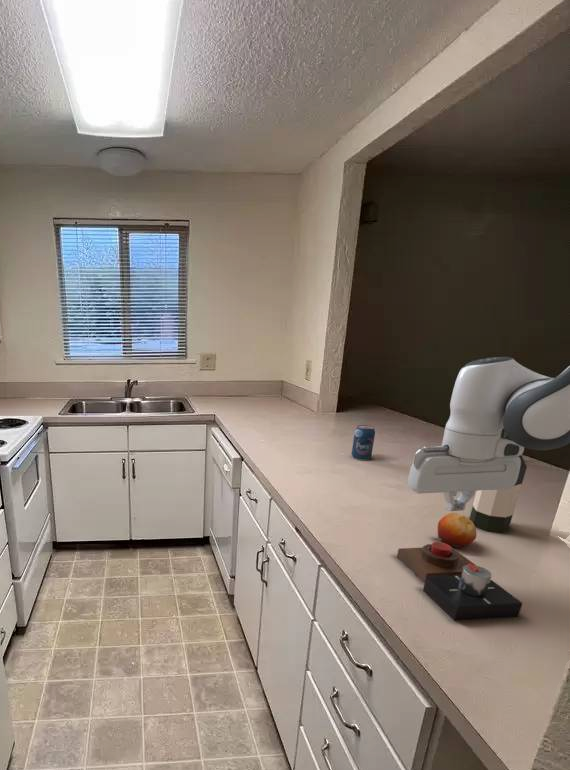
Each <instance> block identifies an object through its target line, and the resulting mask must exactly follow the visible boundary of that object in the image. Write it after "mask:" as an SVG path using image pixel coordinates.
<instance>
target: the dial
mask: <svg viewBox="0 0 570 770" xmlns="http://www.w3.org/2000/svg"><path fill="white" fill-rule="evenodd" d="M492 576H493V574H492V572H491V571H490V570H488V569H487V568H485V567H482V566H480V565H476V564H475V565H473V564H471V563H468V565H465V566H463V568H462V572H461V576H460V580H459V584H458V587H459V589H460V590H462V591H463V592H465V593H467V594H469V595H473V596H485V595H486V593H487V590H488V586H489V583H490V580H492Z"/></svg>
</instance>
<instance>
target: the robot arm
mask: <svg viewBox="0 0 570 770" xmlns="http://www.w3.org/2000/svg"><path fill="white" fill-rule="evenodd" d="M457 374H458V375H457V377H456V379H455V381H454V382H455V383H454V386H453V389H452V394H451V397H450V402H449V410H450V415H449V418H448V420H447V422H446V423H445V426H444V431H443V438H442V441H441V445H433V446H432V445H426V446H423V447H422V448H420V449H418V450H417V451H416V452H415V453H414V456H413V461H412V464H411V467H410V470H409V473H408V477H407V481H406V483H407V486H408V487H409V489H410V490H412V491H413V492H415V493H417V494H436V493H442V495H443V497H444V500H445V506H444V507H445V510H446V511H448V512H461V511H465V510H466V505H467V504H468V502H469V501H471V499H472V498H473V497H475V494H476V491H479V490H500V489H510V488H512V487H513V486H514V485H515V484H516V482H517V478H518V475H519V471H520V466H521V460H520V458H519V457H518V456H520V455H522V456H523V454H524V451H525V449H527V450H533V451H549V450H550V451H551V450H556V449H559V448H562V447H565V446H567V445H570V365H569V366H567V368H565V369H564V370H563V371H562V372H561V373H559V375H557V376H555V377H550V376H548V375H547V376H546V375H543V374H540V373H538V372H536V371H533V370H532V369H529V368H528V367H525V366H523V365H522V364H520V363H519V362H517V361H516V360H515V359H514V358H513V357H509V356H493V357H492V356H491V357H485V358H480V359H474V360H472V361H470V362H468V363H466V364H465V365H464V366H462V367H461V369H460V370H459V372H458V373H457ZM503 430H504V433H505V432H506V434H507V436H508V437H509V438H510V439H511V440H512V441H511V440H507V439H505V438H503V437H504V436H502V431H503ZM458 492H460V493H461V494H460V495H459V496H458V498H457V499H455V497H457V493H458Z"/></svg>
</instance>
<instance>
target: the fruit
mask: <svg viewBox="0 0 570 770" xmlns="http://www.w3.org/2000/svg"><path fill="white" fill-rule="evenodd" d="M476 539H477V527H475V525H474V524H473V522H472V521H471V520H470V519H469V518H468V517H467V516H465V515H462V514H459V513H458V512H450V513H448V514H445V515H444V516H443V517H441V518H440V520H438V523H437V537H435V538H434V540H441V541H443V543H446V544H448V545H450V546H453V547H455V548H463V547H466V546H468V545H470V544H472V543H473V542H474V541H475V540H476Z"/></svg>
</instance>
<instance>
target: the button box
mask: <svg viewBox="0 0 570 770" xmlns="http://www.w3.org/2000/svg"><path fill="white" fill-rule="evenodd" d="M431 547H432V543H428V544H425V545H423V546H422V547H404V548H402V547H401V548H397V553H396V554H397V555H396V558H397V559H398V560H399V561H400V562H401V563H402V564H404V565H405V566H406V568H408V569H409V570H410V571H411V572H412V573H413V574H414V575H415V576H416V577H418V578H419V579H420V580H421V581H422V582H423V583H424V584H425V579H426V578H430V577H450V576H461V572H462V568H463V566H465V565H468V563H471V564H473V565H476V563H473V562H472V561H471V560H470V559H468V558H467V557H465V556H464V555H463V554H461V552H458V550H456V549H455V548H454V547H452V551H451V555H450V557H442V556H438V555H435V554H433V553H432V552H431Z"/></svg>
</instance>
